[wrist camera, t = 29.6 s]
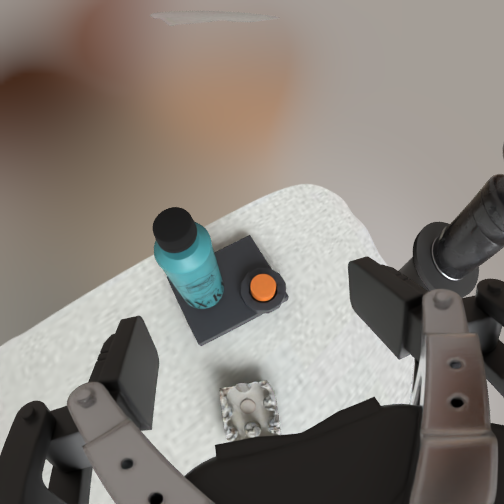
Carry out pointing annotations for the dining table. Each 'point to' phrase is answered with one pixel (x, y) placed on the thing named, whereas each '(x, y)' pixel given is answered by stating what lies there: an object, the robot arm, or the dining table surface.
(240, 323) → the scale
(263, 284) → the button
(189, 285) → the beverage bottle
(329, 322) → the dining table surface
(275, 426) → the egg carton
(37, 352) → the dining table surface
